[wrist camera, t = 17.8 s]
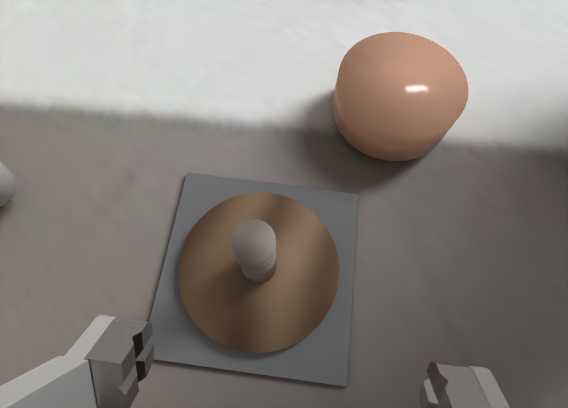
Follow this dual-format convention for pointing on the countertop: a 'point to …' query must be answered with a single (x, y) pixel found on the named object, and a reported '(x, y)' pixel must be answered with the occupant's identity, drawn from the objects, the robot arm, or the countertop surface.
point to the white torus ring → (6, 185)
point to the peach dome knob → (398, 95)
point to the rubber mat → (282, 363)
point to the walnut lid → (258, 272)
